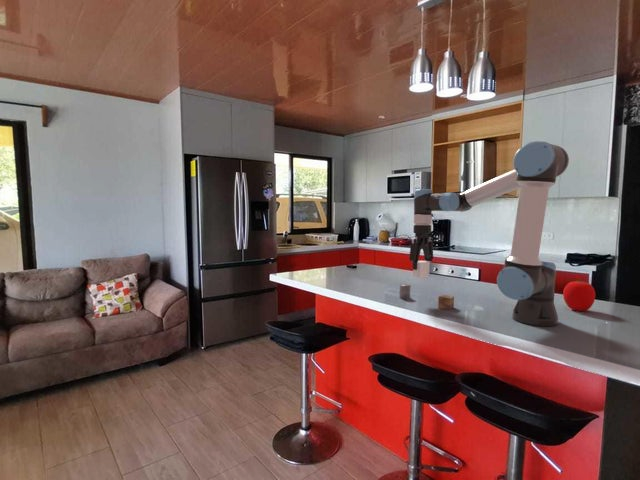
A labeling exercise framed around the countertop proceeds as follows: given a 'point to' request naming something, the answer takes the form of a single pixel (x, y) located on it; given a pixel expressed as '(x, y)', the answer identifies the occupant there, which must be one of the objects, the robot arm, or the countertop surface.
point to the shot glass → (423, 269)
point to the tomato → (579, 295)
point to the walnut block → (446, 302)
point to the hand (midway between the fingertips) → (421, 276)
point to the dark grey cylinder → (404, 291)
